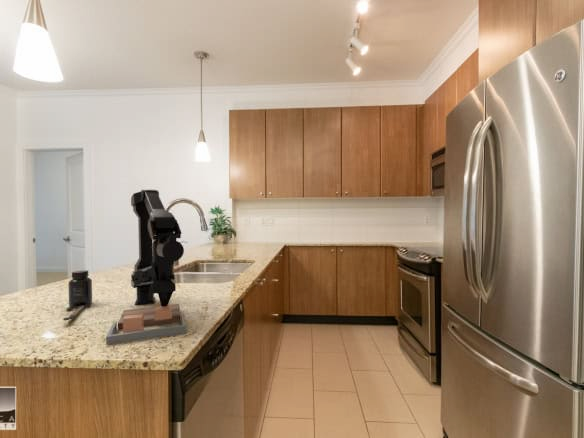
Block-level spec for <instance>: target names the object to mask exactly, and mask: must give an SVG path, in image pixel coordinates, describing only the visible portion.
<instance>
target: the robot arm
mask: <svg viewBox="0 0 584 438" xmlns="http://www.w3.org/2000/svg"><path fill="white" fill-rule="evenodd" d="M130 204H131V205H130V206H131V207H132V210H133V213H134V214H135V215H136V217H137V221H138V223H137V225H138V259H137V260H136V262H135V264H134V267H133V271H132V273H131V274H130V277H131V279H130V283H131V284H130V285H131V286H130V287H132V288H133V289H136V299H135V302H134V306H139V305H149V304H155V303H156V297H155V294H157V295H158V297H159V303H160V306H168V305H169V303H170V300H171V298H172V295H173V293H174V292H175V291H176V281H175V266H174V265H175V262H177V261H178V260H181V258H182V257H183V256H184V251H185V248H184V246H183V244H182V243H181V242H179V241H177V239H181V238H182V231H181V228H180V224H179V223H178V220H177V219H176V218H175V216H174V215H173V213H172V212H170V211H167V210H166V208H165V206H164V205H163V202H162V200H161V198H160V192H159V190H157V189H151V188H150V189H147V188H144V189H141V191H138V192H134V193H133V194H132V195H131V198H130Z"/></svg>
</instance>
